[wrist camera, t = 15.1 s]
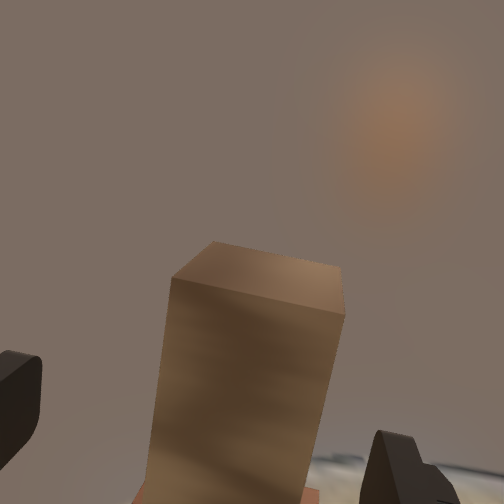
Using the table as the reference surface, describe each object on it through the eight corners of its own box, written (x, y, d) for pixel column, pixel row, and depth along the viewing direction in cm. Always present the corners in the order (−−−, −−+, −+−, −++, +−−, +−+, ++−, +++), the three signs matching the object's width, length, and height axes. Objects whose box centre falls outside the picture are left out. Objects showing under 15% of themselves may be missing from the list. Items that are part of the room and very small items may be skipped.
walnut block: (286, 500, 19) (340, 267, 16) (274, 612, 14) (345, 314, 12) (177, 471, 19) (213, 241, 17) (132, 571, 15) (171, 277, 12)
